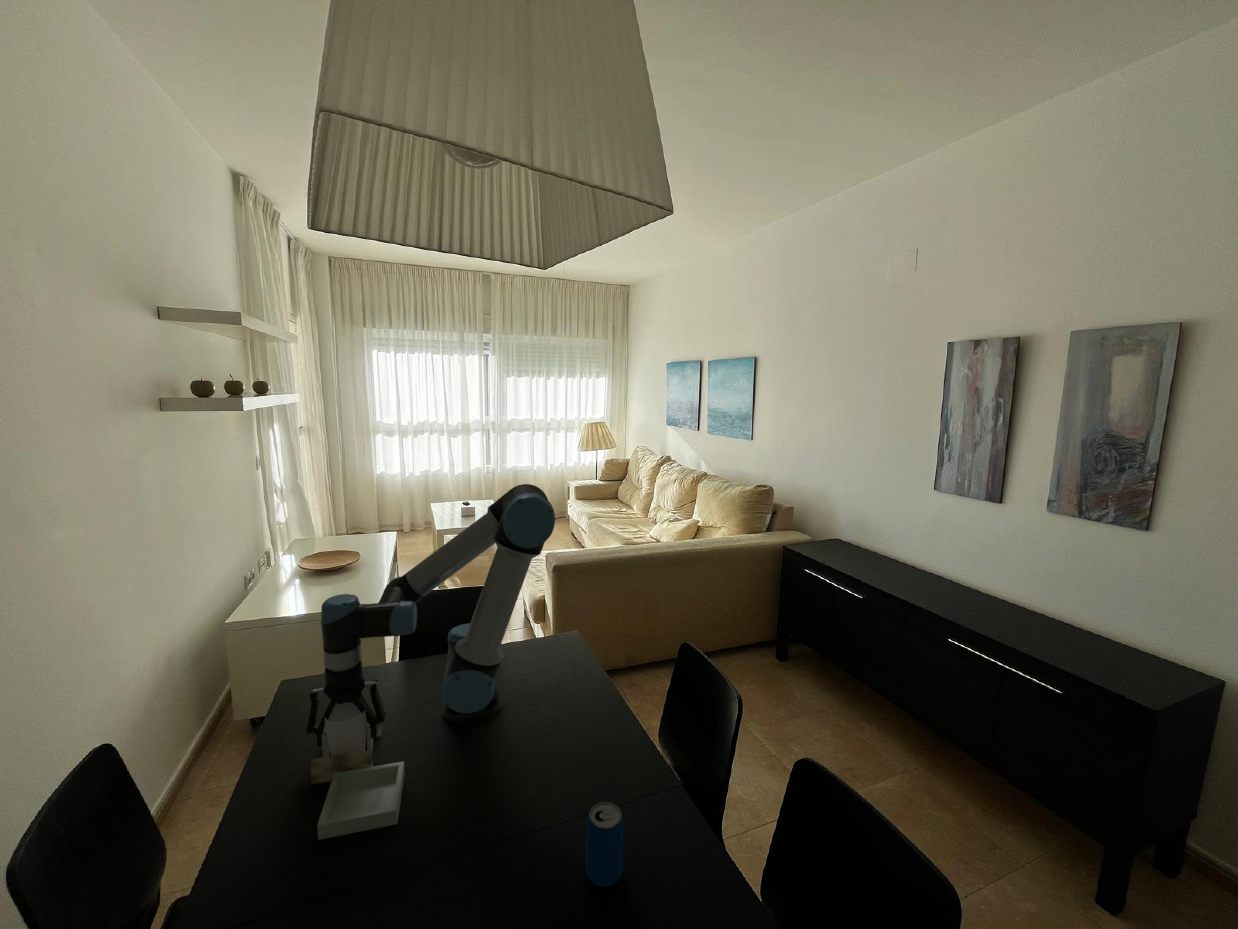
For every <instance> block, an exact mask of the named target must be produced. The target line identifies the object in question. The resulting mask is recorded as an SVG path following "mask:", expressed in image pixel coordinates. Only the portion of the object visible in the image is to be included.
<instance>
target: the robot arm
mask: <svg viewBox="0 0 1238 929" xmlns="http://www.w3.org/2000/svg"><path fill="white" fill-rule="evenodd" d="M555 523H556V516H555V510H554V507H553V504H552V503H551V501H549V497H548V496H547V495H546V493H545V492H544V491H543V490H542V489H541V488H539V487H538V486H536V485H533V484H529V483H523V484H518V485H516V486H514V487H512V488H510V489H509V490H508V491H507V492H506V493H504V494H503V495H502V496H501V497H499V498H498V499H497V500H495V501H494V502H493V503H491V504H490V505H489V506H487V512H486V513H485V514H483V516H481V517H479V518H478V519H477V520H475V521H474V522H473V523H471V524H470V525H469V526H467V527H466V528H465V529H463V530H462V531H461V532H459V533H458V534H457V535H455V536H454V537H453V538H452V539H450V540H448V541H447V542H446V543H445V544H443V545H442V546H441V547H439V548H437V549H436V550H435V551H434V552H433V553H431V554H429V556H426V558H424V559H423V560H422V561H421V562H419V563H417V564H416V565H415V566H414V567H412V568H410V570H407V572H406V573H404V574H403V575H401V576H397V577H395V578H393V579H392V580H390V582H388V584H386V586H385V588H384V590H383V592H382V595H381V597H380V599H379V601H378V603H377V602H376V603H361V601H360V600H359V597H358V596H357V595H355V594H349V593H343V594H336V595H333V596H331V597H328V598H326V599H325V601H324V602H323V603H322V604H321V620H320V624H321V632H322V633H321V635H322V643H323V645H322V647H323V664H324V665H323V666H324V681H325V682H324V683H325V684H324V687H320V688H319V687H318V686H314V687H313V688H312V690H311V693H310V694H309V699H310V702H311V705H310V711H309V715H308V723H307V727H306V734H309V735H310V734H315V735H316V745H317V747H321V749H322V750H321V751H322V757H328V756H330V754H331V752H330V748H329V744H328V740H327V736H326V732H325V718H326V719H327V720H328V719H329V716H330V714H331V712H332V710H333V708H334V706H335V704H336V703H337V704H342V703H351V702H353V704H354V705H355V706H357V707H358V709H359V710H360V712H361V713H363V712H364V711H365V714H366V720H367V722H368V725H367V728H366V729H367V739H366V744H367V745H366V746H367V750H372V751H373V748H374V739H376V738H377V737H376V735H377V724H378V723H381V724H382V723H384V720H385V717H386V712H385V709H384V705H383V702H382V699H381V696H380V692H379V690H378V686H379V680H378V679H373V680H372V681H366V680H365V679H364V674H363V661H362V658H363V655H362V643H361V642H362V639H371V638H373V639H374V638H383V637H385V638H386V637H399V636H404V635H412V634H413V633H414V632H415V631H416V628H417V621H418V610H417V604H416V603H418V602H419V601H421V599H423V598H425V597H426V596H427V595H428V594H429V593H430V592H432V591H433V590H434V589H435V588H437V587H439V586H440V585H442V584H443V583H444V582H446V581H447V580H448V579H449V578H451V577H452V576H453V575H455V574H456V573H457V572H458V571H460V570H461V569H463V568H465V566H467V565H468V564H470V563H471V562H472V561H474V560H475V559H476V558H477V557H479V556H480V555H482V554H483V553H484V552H485V551H487V550H489V548H491V547H492V546H493V545H496V550H495V553H494V555H493V559H492V561H491V564H490V567H489V569H488V573H487V576H486V578H485V581H484V584H483V587H482V589H481V592H480V595H479V598H478V600H477V603H476V606H475V609H474V612H473V614H472V617H471V620H470V622H469V623H464V624H463V623H462V624H459V625H457V626H455V627H452V628H451V629H449V632H448V635H447V640H446V641H447V644H448V645H447V646H448V648H447V659H446V665H445V671H444V678H443V682H442V686H441V691H442V698H443V702H442V714H443V717H444V719H445V720H447V721H448V722H449V723H452V724H454V725H459V726H471V725H478V724H482V723H484V722H486V721H489V719H492V718H493V717H495V716H496V714H498V712H499V711H500V710H501V707H502V696H501V693H500V690H499V688H498V684H497V681H496V679H497V678H496V677H497V675H498V672H499V670H500V667H501V664H502V661H503V658H504V654H503V652H502V650H501V646H502V643H503V641H504V638H505V634H506V631H507V630H508V626H509V623H510V621H511V617H512V616H513V612H514V609H515V606H516V603H517V601H518V598H519V596H520V592H521V590H522V587H523V584H524V581H525V579H526V576H527V574H528V571H529V569H530V564H531V563H532V562H531V561H532V559H533V558H536V557H539V556H540V555H541V553H542V552H543V549H544V546H545V543H546V542H547V540H548V539H549V538H550V537H551V535H552V534H553V531H554V529H555V525H556V524H555ZM364 689H366V691H367V692H368V694H370V699H371V700H370V701H371V703H372V706H373V709H372V707H371V706H370V705H369V703H368V702H367V700H366V699H365V697H364V694H363V692H362V691H363V690H364ZM323 695H325V696H327V698H329V699H330V701H329V703H328V705H327V706H326V709H325V712H324V714H323V715H322V717H321V720H320V722H319V724H317V718H318V717H317V716H318V714H319V707H320V706H319V705H320V701H321V699H322V698H323ZM373 710H374V711H373Z"/></svg>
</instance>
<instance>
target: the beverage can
mask: <svg viewBox="0 0 1238 929" xmlns="http://www.w3.org/2000/svg"><path fill="white" fill-rule="evenodd" d="M623 844H624V816H623V815H622V812H621V809H620V808H619V806H617V805H616V804H615V803H612V802H608V801H602V802H599V803H597V804H595V805H593V806H592V807H591V809H590V811H589V814H588V816H587V819H586V856H585V857H586V858H585V859H586V861H585V862H586V863H585V864H586V865H585V866H586V867H585V868H586V869H585V870H586V871H585V872H586V876H587V878H588V879H589V881H590V882H591V883H592V884H594V885H595V886H598V887H605V888H606V887H610V886H613V885H615V883H617V882H618V881H619V880H620V878H621V877H622V872H623V854H624V853H623V852H624V851H623V850H624V847H623Z"/></svg>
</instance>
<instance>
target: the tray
mask: <svg viewBox="0 0 1238 929" xmlns="http://www.w3.org/2000/svg"><path fill="white" fill-rule="evenodd" d="M405 775H406V774H405V761H398V762H391V763H386V764H385V763H384V764H380V765H373V767H367V768H361V769H356V770H350V771H344V772H338V773H334V776H333V779H332V781H330V782H331V783H330V785H329V789H328V791H327V795H326V797H325V802H324V804H323V807H322V809H321V813H320V816H319V819H318V822H317V825H316V828H317V830H316V831H317V840H318V841H320V840H324V839H330V838H335V837H340V836H346V835H348V834H355V833H360V832H363V831H369V830H374V829H375V830H376V829H379V828H380V829H381V828H384V827H389V826H394V825H398V821H399V820H398V819H399V814H400V809H401V800H402V794H403V787H404V780H405Z"/></svg>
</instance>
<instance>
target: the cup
mask: <svg viewBox="0 0 1238 929" xmlns="http://www.w3.org/2000/svg"><path fill="white" fill-rule="evenodd" d="M367 725H368V722H367V720H366V714H365V711H364V712H363V713H361V712H360V710H359V709H358V707H357V706H355V705H354V704H353V702H351V703H342V704H337V703H336V704H335V706H334V708H333V710H332V712H331V714H330V716H329V719H328V720H327V719H326V718H325V727H324V728H325V732H326V736H327V740H328V744H329V749H330V756H335V755H341V754H347V753H353V752H359V751H365V750H366V746H367V745H366V744H367V739H366V736H367V729H366V728H367Z"/></svg>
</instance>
